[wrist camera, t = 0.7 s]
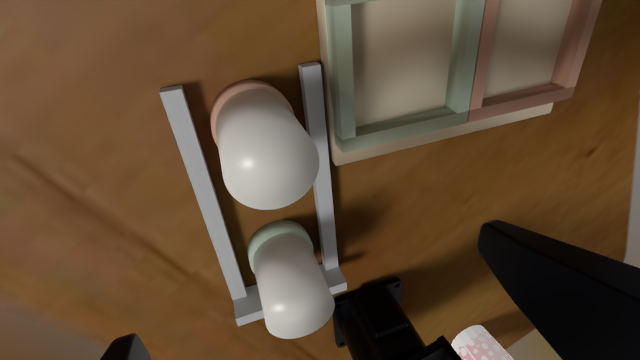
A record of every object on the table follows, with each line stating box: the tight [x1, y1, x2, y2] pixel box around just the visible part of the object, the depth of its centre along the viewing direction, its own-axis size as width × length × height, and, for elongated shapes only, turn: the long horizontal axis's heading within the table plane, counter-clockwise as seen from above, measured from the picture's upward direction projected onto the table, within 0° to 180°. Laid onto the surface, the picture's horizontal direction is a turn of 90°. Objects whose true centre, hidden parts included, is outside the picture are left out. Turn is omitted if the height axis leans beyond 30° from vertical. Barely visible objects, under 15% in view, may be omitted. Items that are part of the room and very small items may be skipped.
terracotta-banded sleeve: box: [210, 79, 320, 210], centre depth 16 cm, size 4×4×6 cm
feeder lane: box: [159, 62, 347, 326], centre depth 20 cm, size 16×8×2 cm, turn 5°
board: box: [316, 0, 603, 166], centre depth 19 cm, size 11×16×2 cm
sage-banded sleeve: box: [247, 220, 335, 339], centre depth 21 cm, size 4×4×6 cm
